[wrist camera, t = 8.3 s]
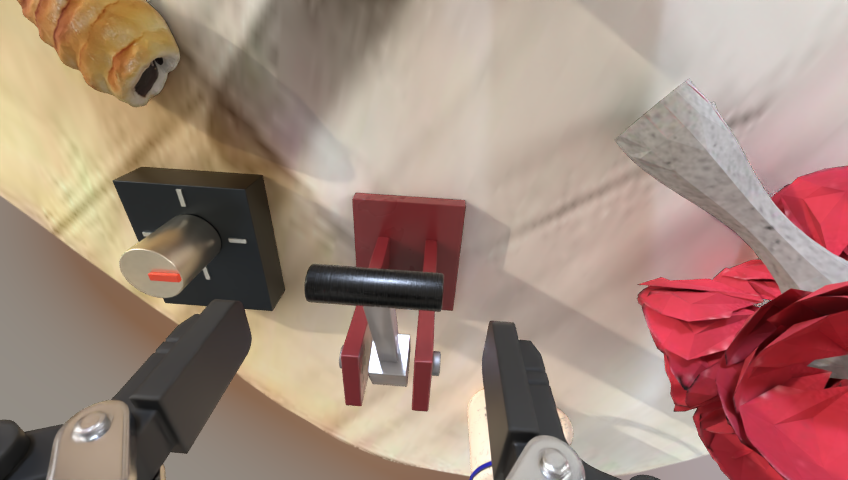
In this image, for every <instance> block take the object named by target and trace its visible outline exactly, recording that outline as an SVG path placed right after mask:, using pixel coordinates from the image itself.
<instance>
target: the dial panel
mask: <svg viewBox="0 0 848 480" xmlns="http://www.w3.org/2000/svg"><path fill="white" fill-rule="evenodd" d="M113 183H114V185H115V188H116V190H117V192H118V195H119V197H120V199H121V202H122V204H123V206H124V209H125V211H126V213H127V216H128V218H129V220H130V223H131V225H132V227H133V229H134V232H135V234H136V236H137V239H138V241H139V242H140V241H141V240H143V239H144V238H146V237H147V236H148V235H150V234H151V233H153V232H154V231H155V230H157V229H158V228H160V227H161V226H162V225H164V224H165V223H167V222H168V221H169V220H171V219H172V218H174V217H175V216H178V215H193V216H196V217H199V218H201V219H203V220H205V221H206V222H208V223H209V224H210V225H211V226H212V227H213V228H214V229H215V230H216V231H217V233H218V235H219V237H220V240H221V249H220V252H219V253H218V254H217V255H216V256H215V257H214V259H213V260H212V261H211V262H210V263H209V264H208V265H207V266H206V267H205V268H204V269H203V270H202V271H201V272H200V273H199V274H198V275H197V276H196V277H195V278H194V279H193V280H192V281H191V282H190V283H189V284H188V285H187V286H186V287H185V288H184V289H183V290H182V291H181V292H180V293H179V294H177V295H176V296H173V297H169V298H163V299H164V301H165V303H172V304H186V305H199V306H208V305H209V303H210V302H211V301H213V300H215V299H222V300H235V301H241V302H242V304H243V306H244V309H253V310H266V311H273V309H274V308H275V306H276V304H277V303H278V301H279V299H280V298H281V296H282V294H283V293H284V291H285V288H284V282H283V277H282V272H281V267H280V262H279V257H278V252H277V247H276V242H275V237H274V231H273V226H272V221H271V216H270V211H269V206H268V201H267V196H266V191H265V185H264V180H263V176H262V175H253V174H238V173H223V172H209V171H194V170H179V169H164V168H149V167H140V168H138V169H136V170H134V171H132V172H130V173H128V174H125V175H123V176H121V177H119V178H117V179H115V180H113Z"/></svg>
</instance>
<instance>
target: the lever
mask: <svg viewBox="0 0 848 480" xmlns="http://www.w3.org/2000/svg"><path fill="white" fill-rule="evenodd" d="M443 290H444V275H443V273H434V272H420V271H406V270H392V269H378V268H364V267H350V266H336V265H323V264H312V265H311V266H310V267H309V269H308V272H307V275H306V279H305V297H306V300H307V301H308V302H315V303H328V304H342V305H355V306H363V309H364V312H365V315H366V319H367V322H368V325H369V329H370V332H371V335H372V339H373V340H372V346H371V353H370V360H369V366H368V375H369V377H370V379H371V382H372V384H379V385H392V386H405V387H406V386H407V383H408V371H409V360H410V335H405V334H398V327H397V318H396V309H409V310H423V311H436V312H440V311H441V310H442V303H443Z"/></svg>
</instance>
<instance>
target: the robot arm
mask: <svg viewBox="0 0 848 480" xmlns="http://www.w3.org/2000/svg"><path fill="white" fill-rule="evenodd" d="M251 340H252V337H251V332H250V328H249V324H248V321H247V317H246V313H245V310H244V306H243V304H242V302H241V301H235V300H222V299H215V300H213V301H211V302H210V303H209V305H208V306H207V307H206V308H205V309H204V310H203V312H202V313H201V314H194V315H193V316H191V317H190V318H188V319H187V320H185V321H184V322H182V323H181V324H179V325H178V326H177V327H176V328H175V329H174V331H173V332H172V333H171V334H170V335H169V336H168V337H167V338H166V341H165V342H163V343H162V344H161V345H160V346H159V347H158V348H157V349H156V352H155V353H153V354H152V355H151V356H150V357H149V358H148V360H147V361H146V362H145V363H144V364H143V365H142V366H141V367H140V369H139V370H138V371H137V372H136V373H135V374H134V375H133V376H132V377H131V379H130V380H129V381H128V382H127V383H126V384H125V385H124V386H123V388H122V389H121V390H120V391H119V392H118V393H117V394H116V395H115V396H114V397H113V398H112V399H111V400H106V401H102V402H98V403H95V404H93V405H91V406H89V407H87V408H85V409H83V410H81V411H80V412H78V413H76V414H75V415H74V416H72V417H71V418H70V419H69V420H68V421H67V422H65V424H61V425H56V426H51V427H47V428H42V429H37V430H32V431H27V432H24V431H23V430H22V429H21V428H20V427H19V426H18V425H17V424H16V423H15V422H14V421H11V420H0V480H166V476H165V467H164V464H163V463H164V461H165V460H166V458H167V457H168V455H169V453H170V452H175V453H186V454H187V453H188V451H189V450H190V448H191V446H192V445H193V443H194V441H195V440H196V438H197V436H198V435H199V433H200V431H201V430H202V428H203V427H204V425H205V423H206V422H207V420H208V418H209V417H210V415H211V413H212V412H213V410H214V408H215V407H216V405H217V403H218V402H219V400H220V399H221V397H222V395H223V393H224V392H225V390H226V389H227V387H228V385H229V384H230V382H231V380H232V379H233V377H234V375H235V374H236V372H237V371H238V369H239V367H240V366H241V364H242V362H243V361H244V359H245V357H246V356H247V354H248V352H249V349H250V346H251ZM482 375H483V384H484V394H485V403H486V413H487V423H488V432H489V442H490V452H491V461H492V471H493V480H621V479H619V478H616V477H614V476H611V475H609V474H607V473H604V472H602V471H599V470H597V469H595V468H593V467H591V466H590V465H588V464H587V463H585V462H584V461H583V460H581V459H580V458H579V456H578V455H577V453H576V452H575V451H574V450H573V449H572V448H571V447H570V446H569V444H568V442H567V440H566V438H565V436H564V433H563V429H562V426H561V422H560V419H559V415H558V412H557V408H556V405H555V401H554V398H553V395H552V391H551V388H550V386H549V381H548V377H547V374H546V373H545V367H544V363H543V360H542V356H541V354H540V353H539V351H538V350H537V349H536V347H535V346H534V345H533V343H532V342H531V341H527V340H518V336H517V331H516V327H515V324H514V323H513V322H500V321H490V322H489V326H488V331H487V336H486V341H485V346H484V351H483V358H482ZM630 480H660V479H658V478H655V477H653V476H649V475H637V476H634V477H632V478H631V479H630Z"/></svg>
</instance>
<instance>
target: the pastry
mask: <svg viewBox="0 0 848 480" xmlns="http://www.w3.org/2000/svg"><path fill="white" fill-rule="evenodd" d="M17 1H18V2H19V3H20V5H21V6H22V9H23V11H22V12H23V15H24V16H25V17H26V18H27V19H28V20H30V21H31V22H32V23H34V24H35V25H36V26H37V27H38V29H39V36H40V38H41V39H42V40H43V41H44V42H45V43H47V44H49V45H50V46H52V47H54V48H55V49H56V51H57V53H58V55H59V57H60V59H61V61H62V62H63V63H64V64H65V65H67V66H69V67H71V68H73V69H77V70H79V71H81V73H82V74H83V76H84V79H85V81H86V83H87V84H88V85H89V86H91V87H92V88H94V89H96V90H98V91H100V92H104V93H108V94H111V95H114V96H116V97H117V98H118V99H119V100H121V101H123V102H126V103H128V104H129V105H131V106H133V107H140V106H145V105H146V104H147V103H148V101H149V99H151V98H152V97H154V96H155V95H157V94H159V93H160V91H161V90H162V89H163V88H164V84H165V82H166V80H167V74H168V72H170V71H172V70H174V69H175V68H176V66H177V64H178V62H179V61H180V53H179V48H178V46H177V44H176V41H175V39H174V37H173V35H172V34H171V32H170V30H169V27H168V25H167V24H166V22H165V20H164V19H163V18H162V16H161V15H160V14H159V13H158V12H157V11H156V10H155V9H154V8H153V7H152V6H151V5H150V4H149V3H148V2H147V1H146V0H17Z"/></svg>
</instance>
